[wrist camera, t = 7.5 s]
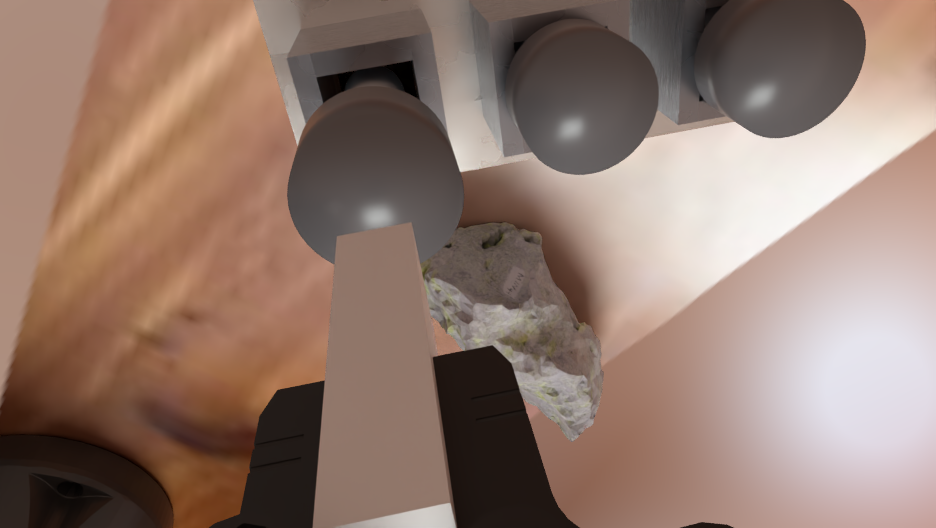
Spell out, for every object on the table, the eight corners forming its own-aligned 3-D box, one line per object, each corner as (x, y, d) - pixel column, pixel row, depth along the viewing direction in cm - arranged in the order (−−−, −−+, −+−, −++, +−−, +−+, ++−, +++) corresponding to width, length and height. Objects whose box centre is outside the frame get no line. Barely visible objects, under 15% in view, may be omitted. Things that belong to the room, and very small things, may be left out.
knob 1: (332, 160, 25) (315, 288, 17) (301, 46, 23) (263, 133, 15) (440, 140, 25) (474, 257, 17) (421, 25, 23) (450, 99, 15)
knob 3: (624, 77, 29) (723, 148, 21) (625, -28, 27) (737, 8, 19) (717, 60, 29) (850, 125, 21) (725, -45, 27) (880, -17, 19)
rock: (632, 341, 39) (677, 417, 33) (542, 400, 41) (570, 482, 35) (490, 173, 32) (517, 235, 26) (387, 253, 33) (390, 328, 28)
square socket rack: (316, 182, 30) (304, 252, 24) (251, -37, 25) (215, -15, 19) (738, 104, 31) (824, 154, 25) (763, -123, 26) (878, -126, 20)
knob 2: (482, 102, 29) (526, 185, 21) (469, -1, 26) (513, 47, 18) (576, 85, 29) (656, 161, 21) (572, -19, 26) (661, 21, 18)
